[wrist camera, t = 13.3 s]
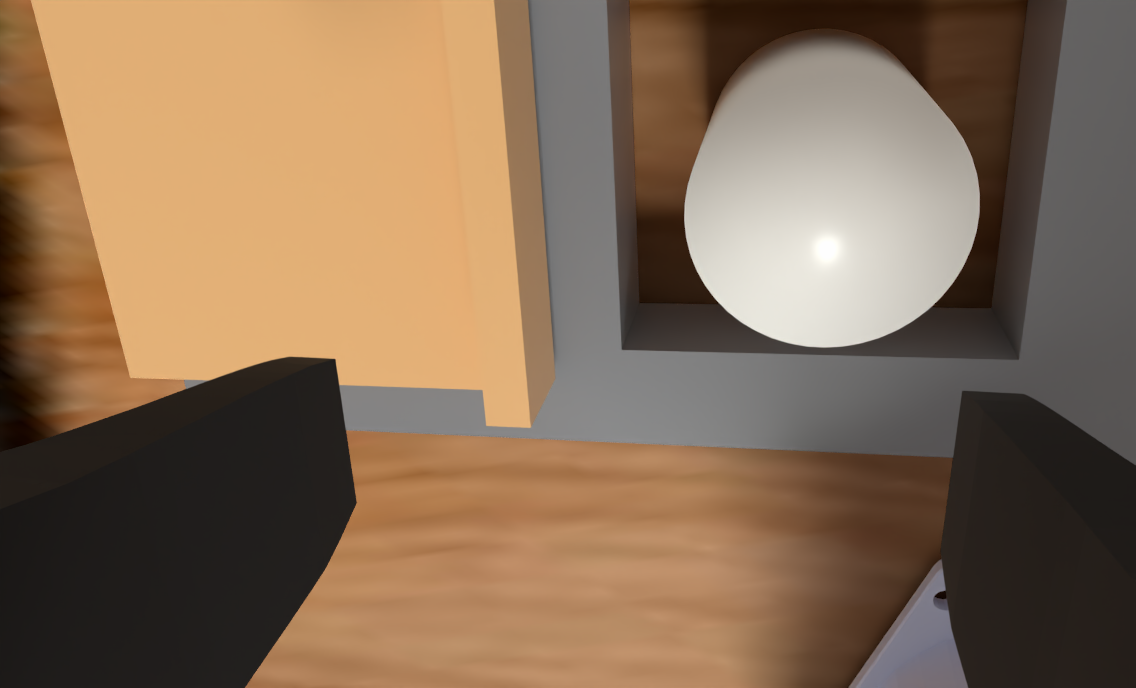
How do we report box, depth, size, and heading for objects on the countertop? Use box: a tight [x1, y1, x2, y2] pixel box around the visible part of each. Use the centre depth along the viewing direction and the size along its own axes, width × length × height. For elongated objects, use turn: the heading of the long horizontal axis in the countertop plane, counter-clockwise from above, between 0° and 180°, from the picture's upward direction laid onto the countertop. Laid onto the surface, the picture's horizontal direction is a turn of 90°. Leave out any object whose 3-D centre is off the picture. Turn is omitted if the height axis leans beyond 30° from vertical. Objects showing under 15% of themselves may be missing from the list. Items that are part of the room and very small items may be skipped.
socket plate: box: [184, 0, 1136, 465], centre depth 18 cm, size 19×11×2 cm, turn 94°
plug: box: [684, 29, 980, 348], centre depth 16 cm, size 4×4×6 cm
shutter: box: [31, 0, 555, 428], centre depth 17 cm, size 9×8×2 cm
